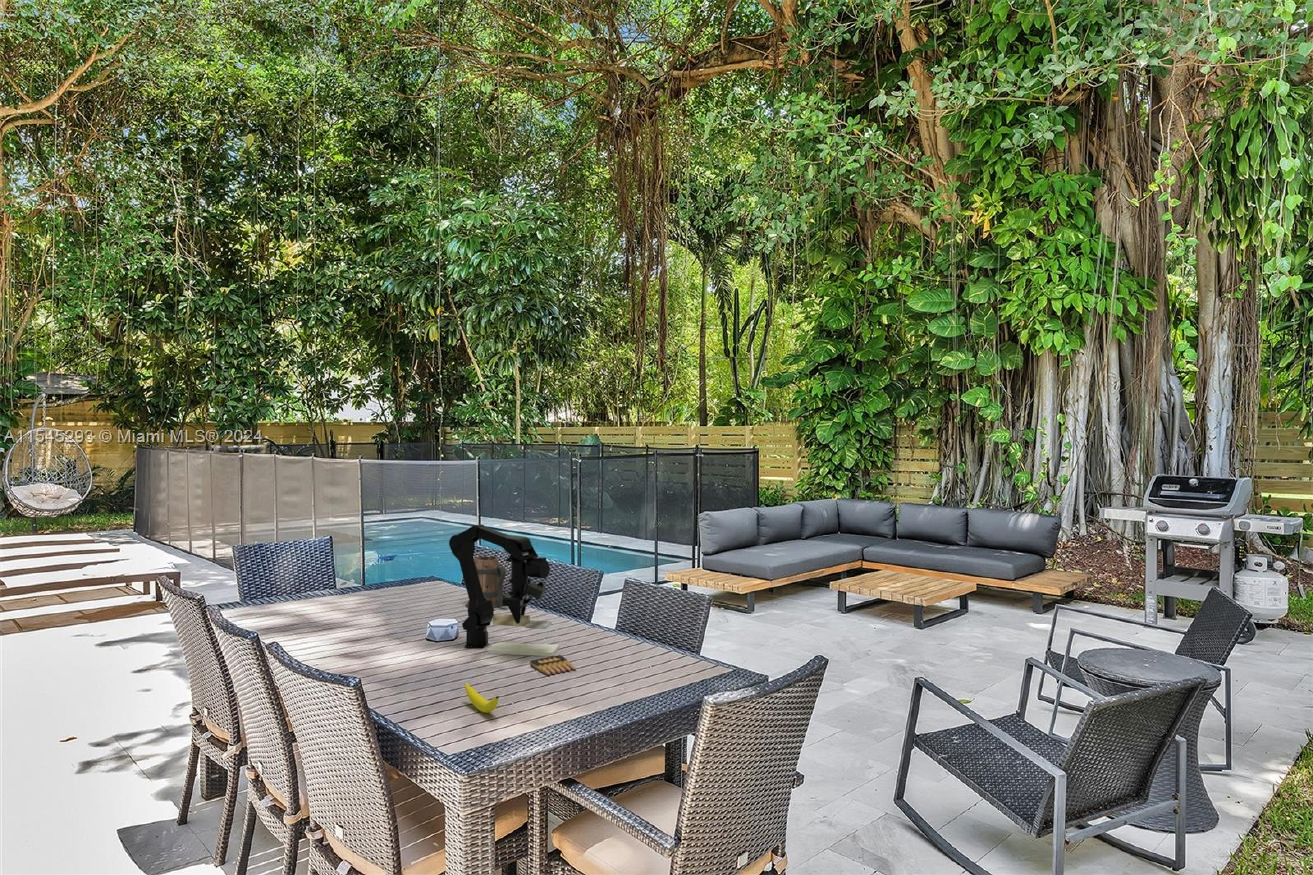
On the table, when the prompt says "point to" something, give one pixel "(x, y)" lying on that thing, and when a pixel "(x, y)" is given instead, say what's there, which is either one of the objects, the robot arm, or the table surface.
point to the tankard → (491, 579)
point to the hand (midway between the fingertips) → (519, 622)
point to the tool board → (523, 649)
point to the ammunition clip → (552, 665)
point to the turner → (524, 621)
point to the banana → (480, 700)
